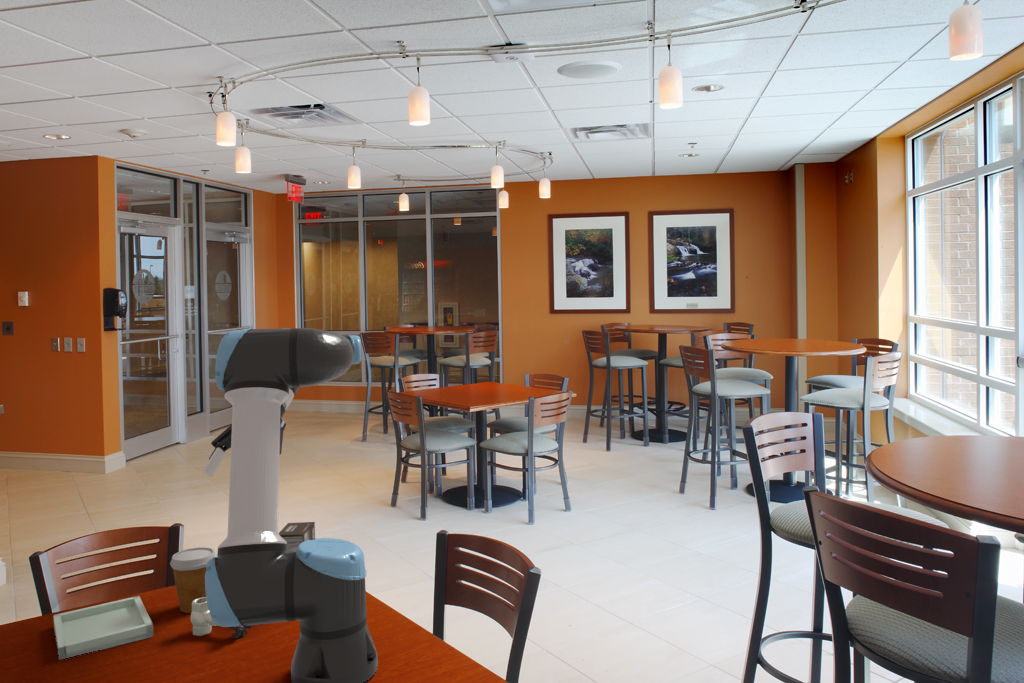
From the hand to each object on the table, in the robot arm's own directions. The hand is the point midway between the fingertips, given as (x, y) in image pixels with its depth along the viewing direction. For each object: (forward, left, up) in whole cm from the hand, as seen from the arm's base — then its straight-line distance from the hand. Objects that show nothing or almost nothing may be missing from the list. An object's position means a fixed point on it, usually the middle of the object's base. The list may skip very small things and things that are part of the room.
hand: (228, 476), depth 164 cm
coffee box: (-15, -11, -27) cm, 33 cm away
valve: (-22, +8, -27) cm, 36 cm away
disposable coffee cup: (-6, +9, -27) cm, 29 cm away
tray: (-7, +27, -27) cm, 39 cm away
